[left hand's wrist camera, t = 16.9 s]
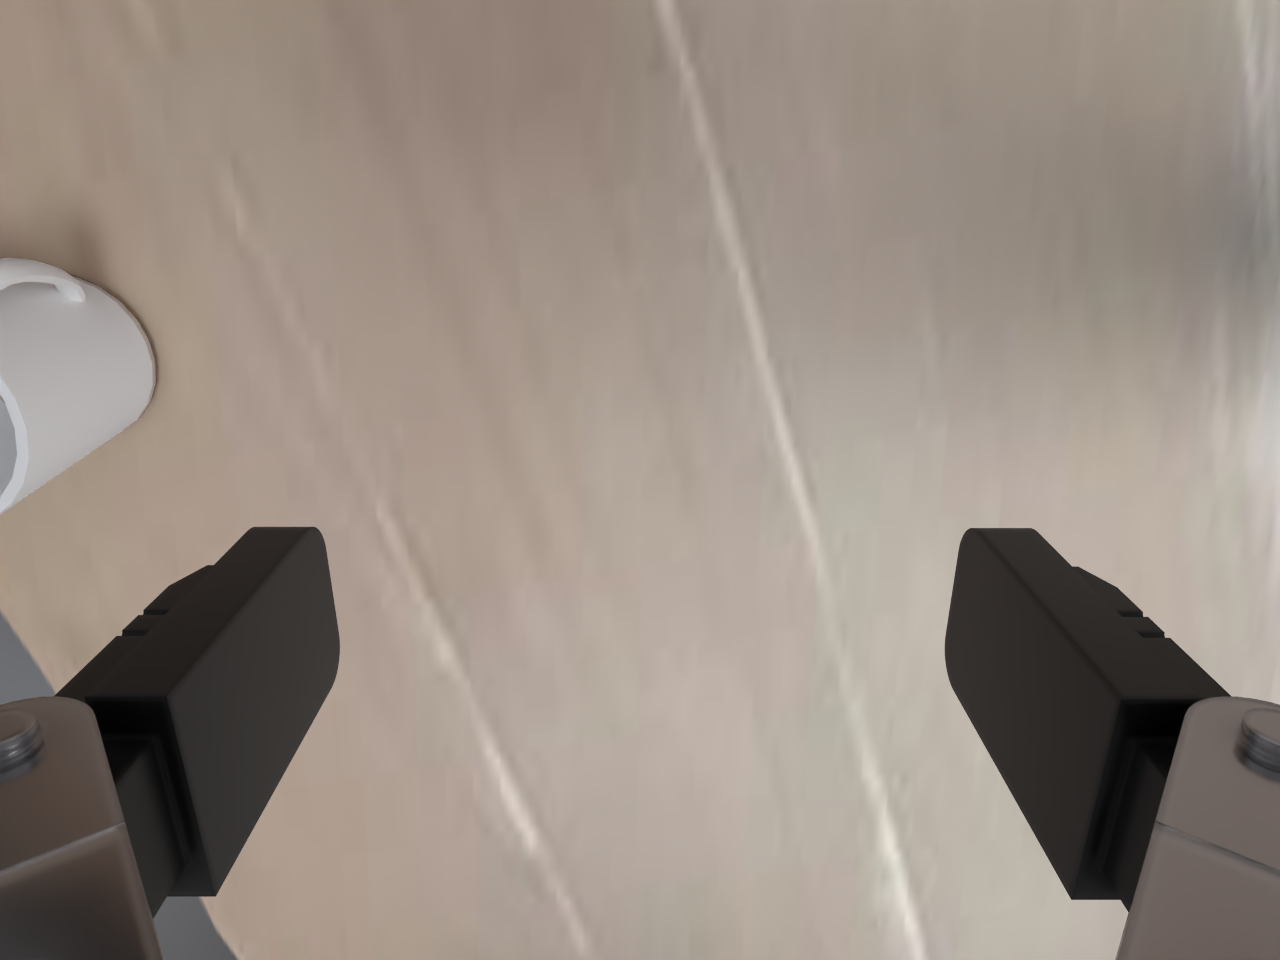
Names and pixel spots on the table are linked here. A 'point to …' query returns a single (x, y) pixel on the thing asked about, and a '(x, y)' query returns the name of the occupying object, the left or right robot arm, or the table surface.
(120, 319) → the mug
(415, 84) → the table surface
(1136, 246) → the table surface
